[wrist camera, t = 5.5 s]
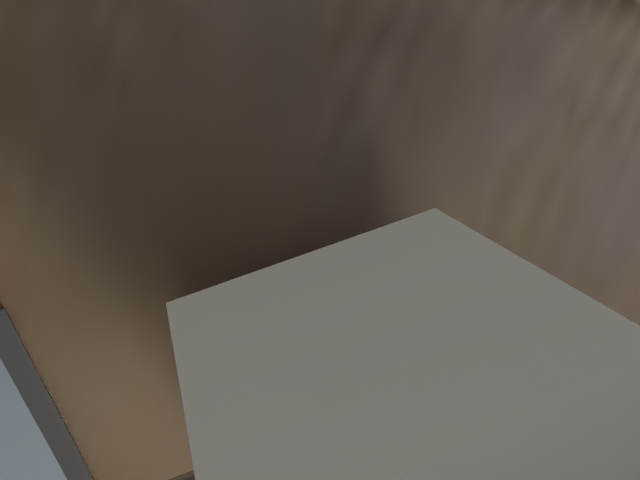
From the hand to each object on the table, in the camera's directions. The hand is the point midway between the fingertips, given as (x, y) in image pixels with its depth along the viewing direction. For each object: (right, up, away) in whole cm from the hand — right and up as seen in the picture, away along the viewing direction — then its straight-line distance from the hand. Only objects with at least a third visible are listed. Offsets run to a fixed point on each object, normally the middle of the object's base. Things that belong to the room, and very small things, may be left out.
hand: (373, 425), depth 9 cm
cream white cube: (-1, +1, +2) cm, 2 cm away
